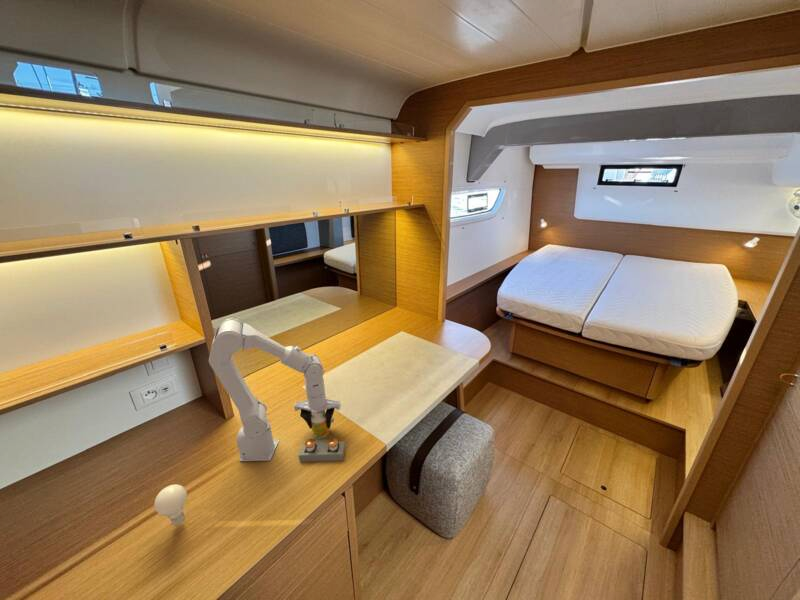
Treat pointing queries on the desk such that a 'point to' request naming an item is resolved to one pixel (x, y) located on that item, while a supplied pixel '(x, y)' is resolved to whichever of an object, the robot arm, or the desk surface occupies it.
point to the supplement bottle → (319, 424)
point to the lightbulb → (171, 503)
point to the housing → (322, 452)
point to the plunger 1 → (310, 446)
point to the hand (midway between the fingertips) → (320, 426)
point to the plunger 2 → (333, 445)
